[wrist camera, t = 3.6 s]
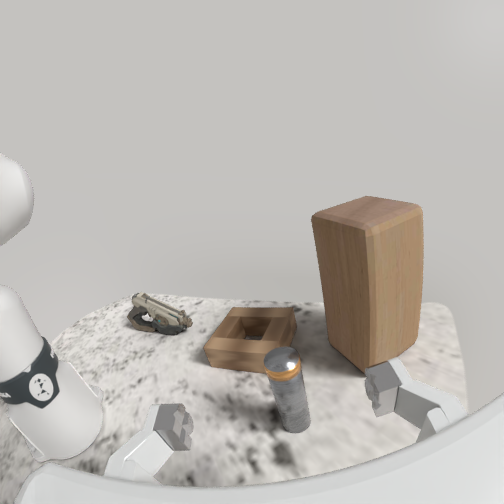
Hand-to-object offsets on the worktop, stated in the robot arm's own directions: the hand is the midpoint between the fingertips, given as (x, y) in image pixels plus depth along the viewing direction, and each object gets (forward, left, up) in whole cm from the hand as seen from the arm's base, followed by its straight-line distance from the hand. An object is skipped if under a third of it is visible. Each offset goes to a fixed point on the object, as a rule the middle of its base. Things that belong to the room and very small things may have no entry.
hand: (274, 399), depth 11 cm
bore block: (-14, +23, -19) cm, 33 cm away
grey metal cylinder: (-4, +10, -19) cm, 22 cm away
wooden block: (+4, +24, -19) cm, 31 cm away
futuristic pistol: (-35, +25, -19) cm, 47 cm away
